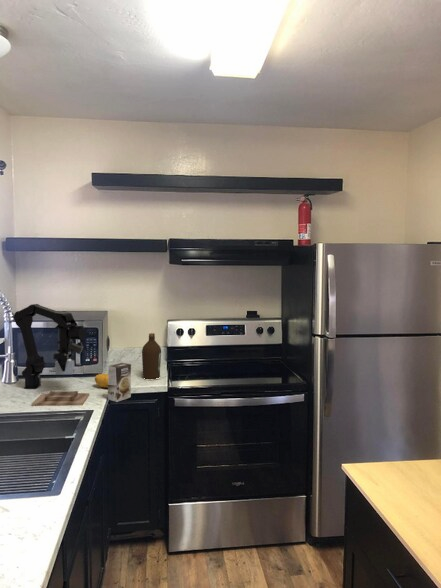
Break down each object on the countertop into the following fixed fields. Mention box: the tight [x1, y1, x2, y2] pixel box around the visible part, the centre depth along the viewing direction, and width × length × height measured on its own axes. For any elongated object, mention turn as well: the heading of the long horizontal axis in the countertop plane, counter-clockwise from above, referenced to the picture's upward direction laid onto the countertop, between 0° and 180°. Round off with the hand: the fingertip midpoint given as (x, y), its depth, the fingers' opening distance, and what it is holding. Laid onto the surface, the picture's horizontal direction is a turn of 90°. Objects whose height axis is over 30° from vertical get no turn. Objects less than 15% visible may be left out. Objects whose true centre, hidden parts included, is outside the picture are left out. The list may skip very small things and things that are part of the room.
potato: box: [94, 373, 108, 389], centre depth 223 cm, size 7×14×7 cm, turn 68°
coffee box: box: [107, 362, 132, 403], centre depth 205 cm, size 9×6×16 cm
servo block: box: [52, 358, 78, 375], centre depth 214 cm, size 11×4×7 cm, turn 96°
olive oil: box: [141, 332, 162, 380], centre depth 242 cm, size 11×11×25 cm
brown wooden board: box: [31, 390, 90, 407], centre depth 201 cm, size 22×15×3 cm
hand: (65, 369), depth 214 cm, fingers closed on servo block, 4 cm apart
